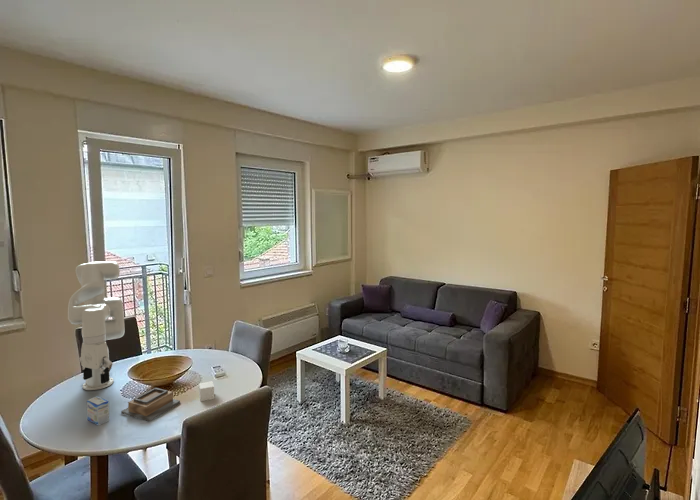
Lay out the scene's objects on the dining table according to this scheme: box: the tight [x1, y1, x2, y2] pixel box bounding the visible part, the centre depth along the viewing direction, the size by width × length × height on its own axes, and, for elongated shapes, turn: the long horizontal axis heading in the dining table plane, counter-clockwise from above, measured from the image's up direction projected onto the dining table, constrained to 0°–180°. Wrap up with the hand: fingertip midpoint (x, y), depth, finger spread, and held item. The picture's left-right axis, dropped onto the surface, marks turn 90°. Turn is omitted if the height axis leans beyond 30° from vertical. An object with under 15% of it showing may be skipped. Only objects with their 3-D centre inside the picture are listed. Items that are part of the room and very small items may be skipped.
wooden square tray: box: [120, 387, 181, 422], centre depth 163 cm, size 16×16×6 cm
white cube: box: [198, 380, 215, 402], centre depth 173 cm, size 6×6×6 cm
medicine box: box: [86, 395, 110, 426], centre depth 153 cm, size 8×4×9 cm, turn 62°
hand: (96, 380), depth 151 cm, fingers open, 9 cm apart
